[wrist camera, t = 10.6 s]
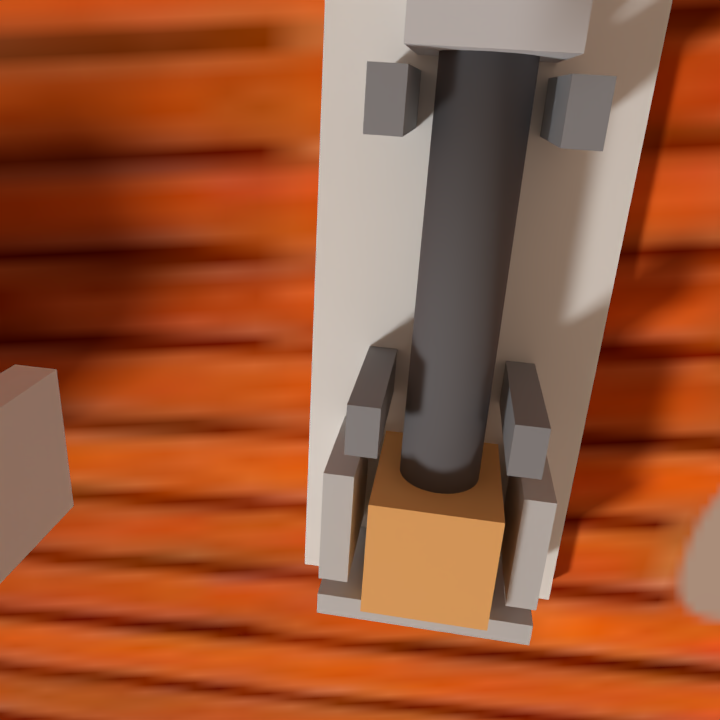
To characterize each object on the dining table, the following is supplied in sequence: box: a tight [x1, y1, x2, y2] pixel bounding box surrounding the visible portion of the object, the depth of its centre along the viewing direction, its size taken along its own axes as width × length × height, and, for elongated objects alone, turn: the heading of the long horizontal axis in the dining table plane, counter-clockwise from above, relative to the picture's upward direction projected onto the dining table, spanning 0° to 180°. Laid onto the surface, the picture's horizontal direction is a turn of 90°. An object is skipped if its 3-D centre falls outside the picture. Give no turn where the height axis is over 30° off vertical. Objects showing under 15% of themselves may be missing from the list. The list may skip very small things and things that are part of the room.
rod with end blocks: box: [360, 0, 593, 631], centre depth 25 cm, size 24×5×6 cm, turn 177°
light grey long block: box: [305, 0, 672, 645], centre depth 26 cm, size 28×12×7 cm, turn 177°
